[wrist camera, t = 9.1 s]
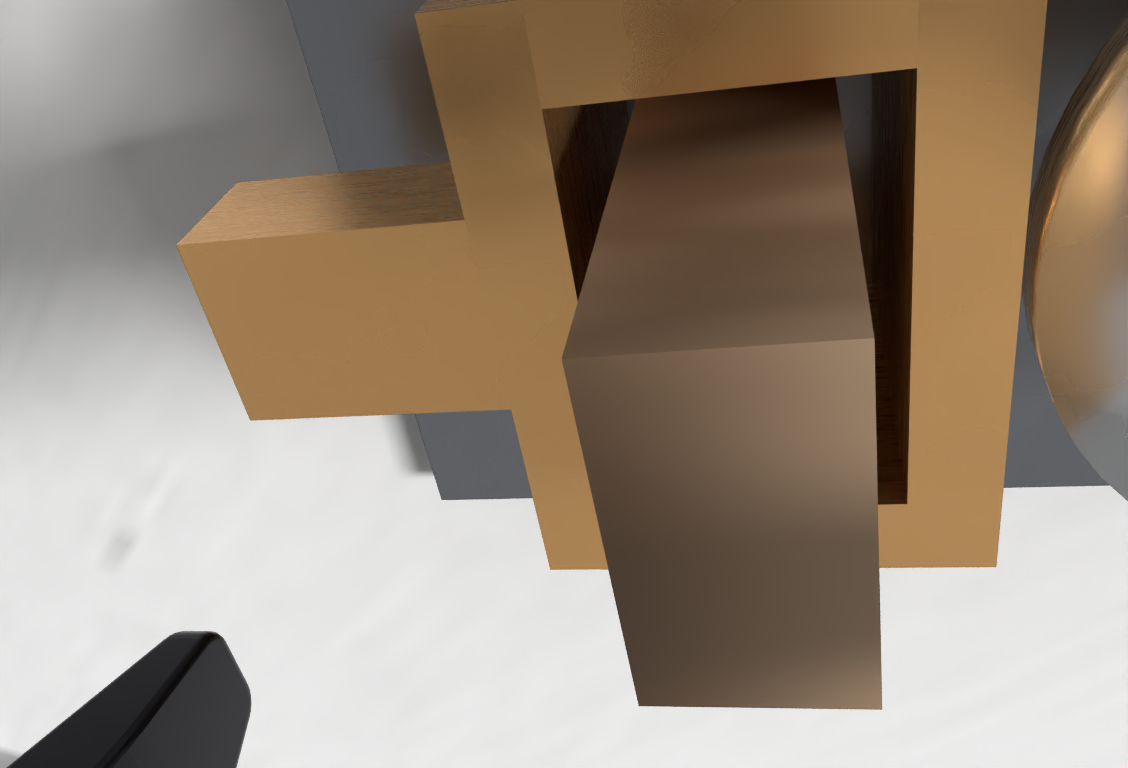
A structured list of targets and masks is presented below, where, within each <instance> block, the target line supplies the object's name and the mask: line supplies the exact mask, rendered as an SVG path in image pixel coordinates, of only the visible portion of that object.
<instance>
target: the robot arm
mask: <svg viewBox="0 0 1128 768" xmlns="http://www.w3.org/2000/svg"><path fill="white" fill-rule="evenodd" d="M250 712H251V694H250V689H249V686H248V684H247V682H246V680H245V678H244V676H243V674H242V672H241V670H240V668H239V666H238V664H237V663H236V661H235V659H234V657H233V655H232V653H231V651H230V649H229V647H228V645H227V643H226V641H225V640H224V638H223V637H222V636H220V635H219V634H218V633H216V632H212V631H182V632H177V633H174V634H172V635H170V636H169V637H167V638H166V639H164V640H163V641H162V642H161V643H160V644H158V645H157V646H156V647H155V648H153V649H152V650H151V651H150V652H148V653H147V654H146V655H145V656H144V657H142V658H141V659H140V660H139V661H137V662H136V663H135V664H134V665H132V666H131V667H130V668H129V669H128V670H126V671H125V672H124V673H123V674H121V675H120V676H119V677H118V678H116V679H115V680H114V681H113V682H111V683H110V684H109V685H108V686H107V687H105V688H104V689H103V690H102V691H100V692H99V693H98V694H97V695H95V696H94V697H93V698H92V699H91V700H89V701H88V702H87V703H86V704H84V705H83V706H82V707H81V708H79V709H78V710H77V711H76V712H75V713H73V714H72V715H71V716H70V717H68V718H67V719H66V720H65V721H63V722H62V723H61V724H60V725H58V726H57V727H56V728H55V729H54V730H52V731H51V732H50V733H49V734H47V735H46V736H45V737H44V738H42V739H41V740H40V741H39V742H38V743H36V744H35V745H34V746H33V747H31V748H30V749H29V750H28V751H26V752H25V753H24V754H23V755H22V756H20V757H19V758H18V759H17V760H15V761H14V762H13V763H12V764H10V765H9V766H8V767H7V768H236V767H237V763H238V759H239V756H240V752H241V748H242V744H243V740H244V736H245V732H246V729H247V725H248V721H249V717H250Z"/></svg>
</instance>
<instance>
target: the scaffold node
mask: <svg viewBox="0 0 1128 768" xmlns="http://www.w3.org/2000/svg"><path fill="white" fill-rule="evenodd" d="M287 3H288V6H289V10H290V13H291V16H292V19H293V23H294V26H295V29H296V32H297V35H298V39H299V42H300V45H301V48H302V52H303V55H304V58H305V61H306V64H307V68H308V71H309V74H310V77H311V81H312V84H313V87H314V90H315V93H316V97H317V100H318V103H319V106H320V110H321V113H322V116H323V119H324V122H325V126H326V129H327V132H328V135H329V139H330V142H331V145H332V148H333V151H334V155H335V158H336V161H337V164H338V167H339V171H340V172H338V173H328V174H318V175H308V176H298V177H288V178H278V179H268V180H258V181H248V182H238V183H236V184H235V185H234V186H233V187H232V188H231V189H230V190H229V191H228V192H227V193H226V194H225V195H224V196H223V197H222V198H221V199H220V200H219V201H218V202H217V203H216V204H215V205H214V206H213V208H212V209H211V210H210V211H209V212H208V213H207V214H206V215H205V216H204V217H203V218H202V219H201V220H200V221H199V222H198V223H197V224H196V225H195V226H194V227H193V228H192V229H191V230H190V231H189V232H188V233H187V234H186V235H185V236H184V237H183V238H182V239H181V240H180V241H179V242H178V243H177V245H176V246H177V248H178V251H179V253H180V255H181V258H182V260H183V263H184V265H185V267H186V270H187V272H188V274H189V277H190V279H191V281H192V284H193V286H194V289H195V291H196V293H197V296H198V298H199V300H200V303H201V305H202V307H203V310H204V312H205V315H206V317H207V319H208V322H209V324H210V326H211V329H212V331H213V333H214V336H215V338H216V341H217V343H218V345H219V348H220V350H221V352H222V355H223V357H224V359H225V362H226V364H227V366H228V369H229V371H230V374H231V376H232V378H233V381H234V383H235V385H236V388H237V390H238V392H239V395H240V397H241V400H242V402H243V404H244V407H245V409H246V411H247V414H248V416H249V418H250V420H273V419H296V418H320V417H344V416H368V415H391V414H415V415H416V419H417V422H418V425H419V428H420V432H421V435H422V438H423V441H424V444H425V448H426V451H427V454H428V457H429V460H430V464H431V467H432V470H433V473H434V477H435V480H436V483H437V486H438V489H439V493H440V496H441V499H442V500H465V499H510V498H533V501H534V505H535V509H536V513H537V517H538V521H539V525H540V529H541V533H542V538H543V542H544V546H545V550H546V554H547V558H548V562H549V566H550V570H561V569H608V565H607V561H606V556H605V552H604V547H603V543H602V538H601V534H600V529H599V525H598V520H597V516H596V511H595V507H594V502H593V498H592V493H591V489H590V484H589V480H588V475H587V471H586V467H585V462H584V458H583V453H582V449H581V444H580V440H579V435H578V431H577V426H576V422H575V417H574V413H573V408H572V404H571V399H570V395H569V390H568V386H567V381H566V377H565V372H564V368H563V363H562V355H563V352H564V348H565V345H566V341H567V338H568V334H569V331H570V327H571V324H572V321H573V317H574V314H575V310H576V307H577V303H578V300H579V296H580V293H581V289H582V286H583V282H584V279H585V275H586V272H587V268H588V265H589V261H590V258H591V254H592V251H593V247H594V244H595V240H596V237H597V233H598V230H599V226H600V223H601V219H602V216H603V212H604V209H605V205H606V202H607V198H608V195H609V191H610V188H611V184H612V181H613V178H614V174H615V171H616V167H617V164H618V160H619V157H620V153H621V150H622V146H623V143H624V139H625V136H626V132H627V129H628V125H629V122H630V118H631V115H632V111H633V108H634V104H635V101H636V99H640V98H649V97H658V96H667V95H676V94H685V93H695V92H704V91H713V90H722V89H731V88H740V87H749V86H758V85H768V84H777V83H786V82H795V81H804V80H813V79H822V78H831V77H835V79H836V86H837V92H838V99H839V106H840V112H841V119H842V126H843V132H844V139H845V146H846V152H847V159H848V166H849V172H850V179H851V185H852V192H853V199H854V205H855V212H856V219H857V225H858V232H859V239H860V245H861V252H862V259H863V265H864V272H865V279H866V285H867V292H868V299H869V305H870V312H871V318H872V325H873V332H874V341H875V389H876V438H877V487H878V535H879V568H913V567H996V564H997V553H998V542H999V531H1000V520H1001V509H1002V498H1003V488H1013V487H1058V486H1104V485H1110V486H1111V487H1113V488H1114V489H1115V490H1116V491H1117V492H1118V493H1119V494H1120V495H1122V496H1123V497H1124V498H1125V499H1126V500H1127V501H1128V0H287Z"/></svg>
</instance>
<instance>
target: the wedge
mask: <svg viewBox="0 0 1128 768" xmlns="http://www.w3.org/2000/svg"><path fill="white" fill-rule="evenodd" d="M562 363H563V368H564V372H565V377H566V381H567V386H568V390H569V395H570V399H571V404H572V408H573V413H574V417H575V422H576V426H577V431H578V435H579V440H580V444H581V449H582V453H583V458H584V462H585V467H586V471H587V475H588V480H589V484H590V489H591V493H592V498H593V502H594V507H595V511H596V516H597V520H598V525H599V529H600V534H601V538H602V543H603V547H604V552H605V556H606V561H607V565H608V570H609V574H610V579H611V583H612V588H613V592H614V597H615V601H616V606H617V610H618V614H619V619H620V623H621V628H622V632H623V637H624V641H625V646H626V650H627V655H628V659H629V664H630V668H631V673H632V677H633V682H634V686H635V691H636V695H637V700H638V704H639V706H673V707H742V708H812V709H881V710H882V681H881V632H880V584H879V535H878V487H877V438H876V389H875V341H874V332H873V325H872V318H871V312H870V305H869V299H868V292H867V285H866V279H865V272H864V265H863V259H862V252H861V245H860V239H859V232H858V225H857V219H856V212H855V205H854V199H853V192H852V185H851V179H850V172H849V166H848V159H847V152H846V146H845V139H844V132H843V126H842V119H841V112H840V106H839V99H838V92H837V86H836V79H835V77H831V78H822V79H813V80H804V81H795V82H786V83H777V84H768V85H758V86H749V87H740V88H731V89H722V90H713V91H704V92H695V93H685V94H676V95H667V96H658V97H649V98H640V99H636V101H635V104H634V108H633V111H632V115H631V118H630V122H629V125H628V129H627V132H626V136H625V139H624V143H623V146H622V150H621V153H620V157H619V160H618V164H617V167H616V171H615V174H614V178H613V181H612V184H611V188H610V191H609V195H608V198H607V202H606V205H605V209H604V212H603V216H602V219H601V223H600V226H599V230H598V233H597V237H596V240H595V244H594V247H593V251H592V254H591V258H590V261H589V265H588V268H587V272H586V275H585V279H584V282H583V286H582V289H581V293H580V296H579V300H578V303H577V307H576V310H575V314H574V317H573V321H572V324H571V327H570V331H569V334H568V338H567V341H566V345H565V348H564V352H563V355H562Z"/></svg>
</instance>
